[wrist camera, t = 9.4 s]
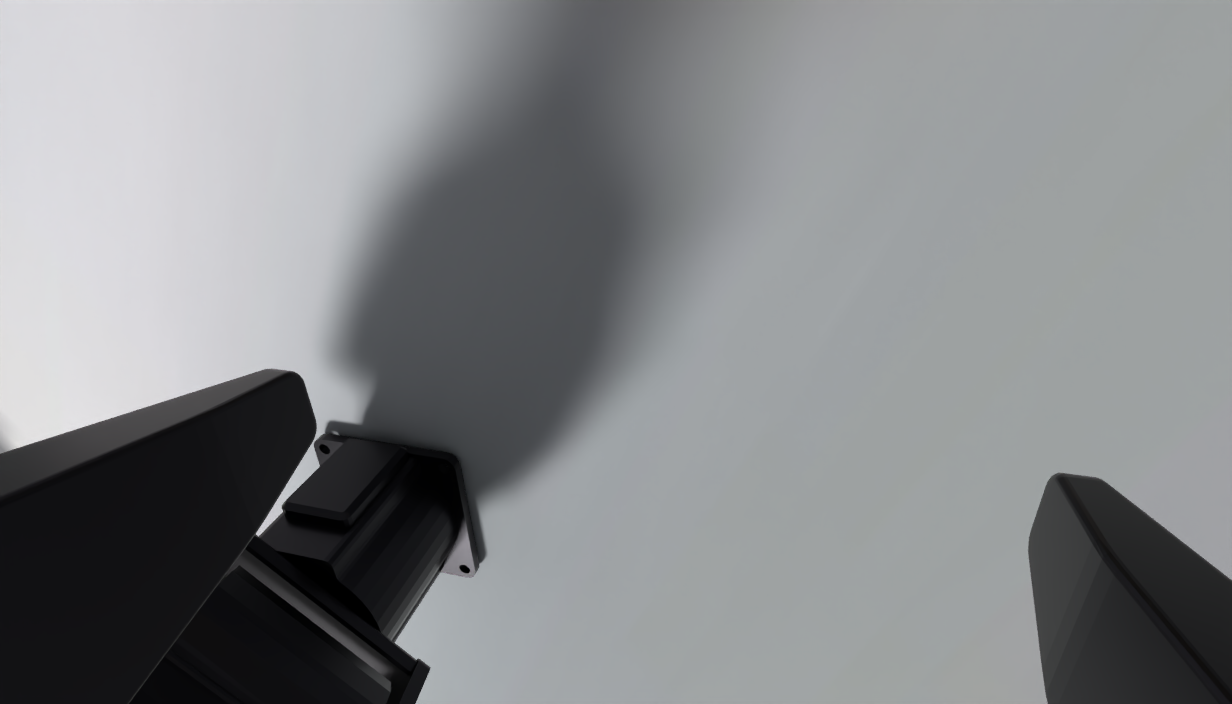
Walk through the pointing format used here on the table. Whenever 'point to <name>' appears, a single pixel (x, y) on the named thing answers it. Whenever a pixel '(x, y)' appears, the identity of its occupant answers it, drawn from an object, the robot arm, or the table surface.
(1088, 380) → the table surface
